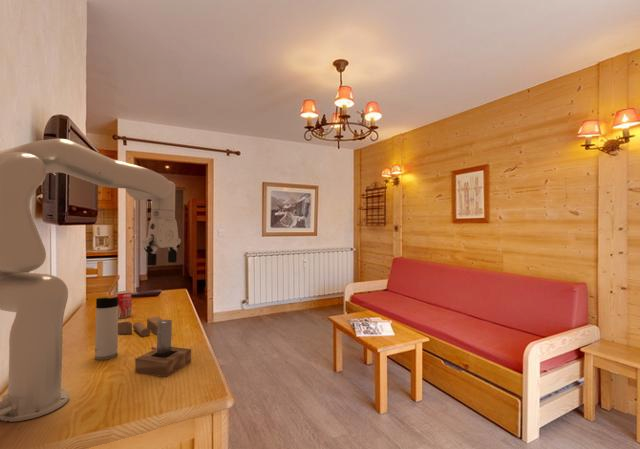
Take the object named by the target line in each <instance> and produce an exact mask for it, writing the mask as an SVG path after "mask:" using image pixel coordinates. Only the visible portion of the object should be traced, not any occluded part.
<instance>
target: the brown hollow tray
mask: <svg viewBox="0 0 640 449" xmlns="http://www.w3.org/2000/svg"><path fill="white" fill-rule="evenodd" d="M190 361H191V362H192V349H191V348H186V347H179V346H178V347H177V346H171V355H170V356H169V357H167V358H160V357H157V349H152V350H151V351H148V352H146V353H144V354H141V355H140V356H138V357H136V358H135V361H134V364H135V365H134V368H135V369H134V370H135V371H134V373H138V374H140V373H141V374H144V375H145V374H146V375H152V376H159V377H163V378H164V377H165V378H167V377H168V376H170V375H171V374H173V373H175V372H177V371H178V370H180V369H182V368H183V367H184V365H185V366H186V365H189V364H190V363H191V362H190ZM189 362H190V363H189Z"/></svg>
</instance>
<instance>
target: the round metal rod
mask: <svg viewBox="0 0 640 449" xmlns="http://www.w3.org/2000/svg"><path fill="white" fill-rule="evenodd" d="M172 321H173V320H172V319H163V320H160V321H158V322H157V335H156V336H157V337H156V347H157V357H160V358H167V357H169V356H170V355H171V347H172V335H173V334H172V328H173V327H172V326H173V325H172V324H173V323H172Z"/></svg>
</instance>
